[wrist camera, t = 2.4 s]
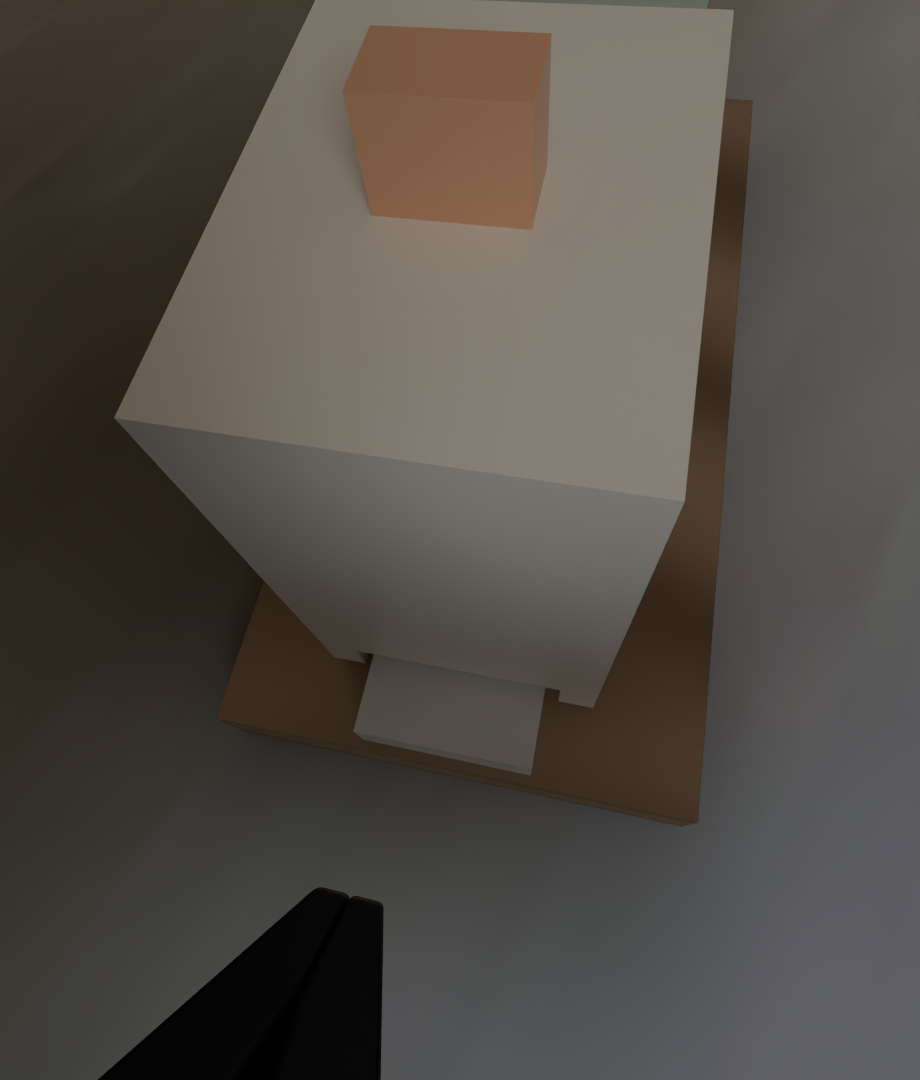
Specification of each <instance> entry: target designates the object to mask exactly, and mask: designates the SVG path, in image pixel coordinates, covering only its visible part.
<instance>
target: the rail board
mask: <svg viewBox="0 0 920 1080" xmlns="http://www.w3.org/2000/svg"><path fill="white" fill-rule="evenodd" d="M752 105H753V100H736V99H725V104H724V114H723V124H722V134H721V144H720V154H719V164H718V174H717V184H716V194H715V204H714V214H713V224H712V234H711V244H710V254H709V264H708V274H707V284H706V294H705V304H704V314H703V324H702V334H701V344H700V354H699V364H698V374H697V384H696V394H695V404H694V414H693V424H692V434H691V444H690V454H689V464H688V474H687V484H686V494H685V502H684V505H683V507H682V509H681V511H680V514H679V516H678V518H677V520H676V523H675V525H674V527H673V529H672V532H671V534H670V536H669V538H668V541H667V543H666V545H665V547H664V550H663V552H662V554H661V556H660V559H659V561H658V563H657V565H656V567H655V570H654V572H653V574H652V576H651V579H650V581H649V583H648V585H647V588H646V590H645V592H644V594H643V597H642V599H641V601H640V603H639V606H638V608H637V610H636V612H635V615H634V617H633V619H632V621H631V624H630V626H629V628H628V630H627V633H626V635H625V637H624V639H623V642H622V644H621V646H620V648H619V651H618V653H617V655H616V657H615V660H614V662H613V664H612V666H611V669H610V671H609V673H608V675H607V678H606V680H605V682H604V684H603V687H602V689H601V691H600V693H599V696H598V698H597V700H596V702H595V705H594V707H593V708H590V707H585V706H580V705H575V704H570V703H565V702H560V701H558V700H559V694H560V690H556V689H551V688H546V687H541V686H536V685H531V684H525V683H520V682H515V681H510V680H505V679H500V678H494V677H489V676H484V675H479V674H474V673H469V672H463V671H458V670H453V669H448V668H443V667H438V666H432V665H427V664H422V663H417V662H412V661H407V660H401V659H396V658H391V657H386V656H381V655H376V654H371V653H369V654H368V657H367V661H366V663H361V662H356V661H351V660H346V659H341V658H336V657H334V656H333V655H332V654H331V653H330V652H329V651H328V650H327V648H326V647H325V646H324V645H323V644H322V643H321V642H320V641H319V640H318V639H317V638H316V636H315V635H314V634H313V633H312V632H311V631H310V630H309V629H308V628H307V627H306V626H305V625H304V623H303V622H302V621H301V620H300V619H299V618H298V617H297V616H296V615H295V614H294V613H293V612H292V610H291V609H290V608H289V607H288V606H287V605H286V604H285V603H284V602H283V601H282V600H281V599H280V597H279V596H278V595H277V594H276V593H275V592H274V591H273V590H272V589H271V588H270V587H269V585H268V584H267V583H266V582H265V581H263V584H262V587H261V590H260V593H259V595H258V598H257V601H256V604H255V607H254V610H253V613H252V616H251V619H250V621H249V624H248V627H247V630H246V633H245V636H244V639H243V642H242V645H241V647H240V650H239V653H238V656H237V659H236V662H235V665H234V668H233V671H232V673H231V676H230V679H229V682H228V685H227V688H226V691H225V694H224V697H223V699H222V702H221V705H220V708H219V711H218V714H217V717H216V718H217V719H219V720H221V721H224V722H226V723H228V724H230V725H232V726H234V727H236V728H238V729H241V730H244V731H249V732H253V733H258V734H262V735H267V736H272V737H276V738H281V739H285V740H290V741H294V742H299V743H304V744H308V745H313V746H317V747H322V748H327V749H331V750H336V751H340V752H345V753H349V754H354V755H359V756H363V757H368V758H372V759H377V760H381V761H386V762H391V763H395V764H400V765H404V766H409V767H413V768H418V769H423V770H427V771H432V772H436V773H441V774H446V775H450V776H455V777H459V778H464V779H468V780H473V781H478V782H482V783H487V784H491V785H496V786H500V787H505V788H510V789H514V790H519V791H523V792H528V793H532V794H537V795H542V796H546V797H551V798H555V799H560V800H565V801H569V802H574V803H578V804H583V805H587V806H592V807H597V808H601V809H606V810H610V811H615V812H619V813H624V814H629V815H633V816H638V817H642V818H647V819H651V820H656V821H661V822H665V823H670V824H674V825H679V826H685V825H689V824H693V823H698V813H699V799H700V786H701V773H702V760H703V747H704V734H705V721H706V708H707V695H708V682H709V668H710V655H711V642H712V629H713V616H714V603H715V590H716V577H717V564H718V551H719V537H720V524H721V511H722V498H723V485H724V472H725V459H726V446H727V433H728V419H729V406H730V393H731V380H732V367H733V354H734V341H735V328H736V315H737V302H738V288H739V275H740V262H741V249H742V236H743V223H744V210H745V197H746V184H747V171H748V157H749V144H750V131H751V118H752Z"/></svg>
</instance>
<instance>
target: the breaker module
mask: <svg viewBox="0 0 920 1080" xmlns="http://www.w3.org/2000/svg"><path fill="white" fill-rule="evenodd" d="M733 13H734V10H719V9H693V8H667V7H641V6H614V5H588V4H562V3H536V2H509V1H483V0H315V2H314V4H313V6H312V8H311V10H310V13H309V15H308V17H307V19H306V21H305V23H304V25H303V27H302V29H301V31H300V33H299V35H298V37H297V39H296V42H295V44H294V46H293V48H292V50H291V52H290V54H289V56H288V58H287V60H286V62H285V64H284V66H283V69H282V71H281V73H280V75H279V77H278V79H277V81H276V83H275V85H274V87H273V89H272V91H271V93H270V95H269V98H268V100H267V102H266V104H265V106H264V108H263V110H262V112H261V114H260V116H259V118H258V120H257V122H256V125H255V127H254V129H253V131H252V133H251V135H250V137H249V139H248V141H247V143H246V145H245V147H244V149H243V151H242V154H241V156H240V158H239V160H238V162H237V164H236V166H235V168H234V170H233V172H232V174H231V176H230V178H229V181H228V183H227V185H226V187H225V189H224V191H223V193H222V195H221V197H220V199H219V201H218V203H217V205H216V208H215V210H214V212H213V214H212V216H211V218H210V220H209V222H208V224H207V226H206V228H205V230H204V232H203V234H202V237H201V239H200V241H199V243H198V245H197V247H196V249H195V251H194V253H193V255H192V257H191V259H190V261H189V264H188V266H187V268H186V270H185V272H184V274H183V276H182V278H181V280H180V282H179V284H178V286H177V288H176V290H175V293H174V295H173V297H172V299H171V301H170V303H169V305H168V307H167V309H166V311H165V313H164V315H163V317H162V320H161V322H160V324H159V326H158V328H157V330H156V332H155V334H154V336H153V338H152V340H151V342H150V344H149V346H148V349H147V351H146V353H145V355H144V357H143V359H142V361H141V363H140V365H139V367H138V369H137V371H136V373H135V376H134V378H133V380H132V382H131V384H130V386H129V388H128V390H127V392H126V394H125V396H124V398H123V400H122V402H121V405H120V407H119V409H118V411H117V413H116V415H115V417H114V418H115V419H116V420H117V422H118V423H119V424H120V425H121V426H122V427H123V428H124V429H125V430H126V431H127V432H128V434H129V435H130V436H131V437H132V438H133V439H134V440H135V441H136V442H137V443H138V444H139V445H140V447H141V448H142V449H143V450H144V451H145V452H146V453H147V454H148V455H149V456H150V457H151V458H152V460H153V461H154V462H155V463H156V464H157V465H158V466H159V467H160V468H161V469H162V470H163V472H164V473H165V474H166V475H167V476H168V477H169V478H170V479H171V480H172V481H173V482H174V483H175V485H176V486H177V487H178V488H179V489H180V490H181V491H182V492H183V493H184V494H185V495H186V496H187V498H188V499H189V500H190V501H191V502H192V503H193V504H194V505H195V506H196V507H197V508H198V509H199V511H200V512H201V513H202V514H203V515H204V516H205V517H206V518H207V519H208V520H209V521H210V523H211V524H212V525H213V526H214V527H215V528H216V529H217V530H218V531H219V532H220V533H221V534H222V536H223V537H224V538H225V539H226V540H227V541H228V542H229V543H230V544H231V545H232V546H233V547H234V549H235V550H236V551H237V552H238V553H239V554H240V555H241V556H242V557H243V558H244V559H245V561H246V562H247V563H248V564H249V565H250V566H251V567H252V568H253V569H254V570H255V571H256V572H257V574H258V575H259V576H260V577H261V578H262V579H263V580H264V581H265V582H266V583H267V584H268V585H269V587H270V588H271V589H272V590H273V591H274V592H275V593H276V594H277V595H278V596H279V597H280V599H281V600H282V601H283V602H284V603H285V604H286V605H287V606H288V607H289V608H290V609H291V610H292V612H293V613H294V614H295V615H296V616H297V617H298V618H299V619H300V620H301V621H302V622H303V623H304V625H305V626H306V627H307V628H308V629H309V630H310V631H311V632H312V633H313V634H314V635H315V636H316V638H317V639H318V640H319V641H320V642H321V643H322V644H323V645H324V646H325V647H326V648H327V650H328V651H329V652H330V653H331V654H332V655H333V656H334V657H336V658H341V659H346V660H351V661H356V662H361V663H366V661H367V657H368V654H369V653H371V654H376V655H381V656H386V657H391V658H396V659H401V660H407V661H412V662H417V663H422V664H427V665H432V666H438V667H443V668H448V669H453V670H458V671H463V672H469V673H474V674H479V675H484V676H489V677H494V678H500V679H505V680H510V681H515V682H520V683H525V684H531V685H536V686H541V687H546V688H551V689H556V690H560V694H559V700H558V701H560V702H565V703H570V704H575V705H580V706H585V707H590V708H593V707H594V705H595V702H596V700H597V698H598V696H599V693H600V691H601V689H602V687H603V684H604V682H605V680H606V678H607V675H608V673H609V671H610V669H611V666H612V664H613V662H614V660H615V657H616V655H617V653H618V651H619V648H620V646H621V644H622V642H623V639H624V637H625V635H626V633H627V630H628V628H629V626H630V624H631V621H632V619H633V617H634V615H635V612H636V610H637V608H638V606H639V603H640V601H641V599H642V597H643V594H644V592H645V590H646V588H647V585H648V583H649V581H650V579H651V576H652V574H653V572H654V570H655V567H656V565H657V563H658V561H659V559H660V556H661V554H662V552H663V550H664V547H665V545H666V543H667V541H668V538H669V536H670V534H671V532H672V529H673V527H674V525H675V523H676V520H677V518H678V516H679V514H680V511H681V509H682V507H683V505H684V502H685V494H686V484H687V474H688V464H689V454H690V444H691V434H692V424H693V414H694V404H695V394H696V384H697V374H698V364H699V354H700V344H701V334H702V324H703V314H704V304H705V294H706V284H707V274H708V264H709V254H710V244H711V234H712V224H713V214H714V204H715V194H716V184H717V174H718V164H719V154H720V144H721V134H722V124H723V114H724V104H725V94H726V83H727V73H728V63H729V53H730V43H731V33H732V23H733Z"/></svg>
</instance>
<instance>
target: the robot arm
mask: <svg viewBox="0 0 920 1080" xmlns="http://www.w3.org/2000/svg"><path fill="white" fill-rule="evenodd" d="M383 911H384V910H383V905H382V903H381V902H379V901H375V900H371V899H367V898H363V897H359V896H353V897H351V898H350V899H349V896H348V895H347V894H345V893H343V892H339V891H335V890H331V889H327V888H321V887H320V888H316V889H314V890H313V891H312V892H310V893H309V894H308V895H307V896H306V897H305V898H303V899H302V900H301V901H300V902H299V903H298V904H297V905H296V906H294V907H293V908H292V909H291V910H290V911H289V912H288V913H286V914H285V915H284V916H283V917H282V918H281V919H280V920H278V921H277V922H276V923H275V924H274V925H273V926H272V927H271V928H269V929H268V930H267V931H266V932H265V933H264V934H263V935H261V936H260V937H259V938H258V939H257V940H256V941H255V942H254V943H252V944H251V945H250V946H249V947H248V948H247V949H246V950H244V951H243V952H242V953H241V954H240V955H239V956H238V957H236V958H235V959H234V960H233V961H232V962H231V963H230V964H229V965H227V966H226V967H225V968H224V969H223V970H222V971H221V972H219V973H218V974H217V975H216V976H215V977H214V978H213V979H212V980H210V981H209V982H208V983H207V984H206V985H205V986H204V987H202V988H201V989H200V990H199V991H198V992H197V993H196V994H194V995H193V996H192V997H191V998H190V999H189V1000H188V1001H187V1002H185V1003H184V1004H183V1005H182V1006H181V1007H180V1008H179V1009H177V1010H176V1011H175V1012H174V1013H173V1014H172V1015H171V1016H169V1017H168V1018H167V1019H166V1020H165V1021H164V1022H163V1023H162V1024H160V1025H159V1026H158V1027H157V1028H156V1029H155V1030H154V1031H152V1032H151V1033H150V1034H149V1035H148V1036H147V1037H146V1038H145V1039H143V1040H142V1041H141V1042H140V1043H139V1044H138V1045H137V1046H135V1047H134V1048H133V1049H132V1050H131V1051H130V1052H129V1053H127V1054H126V1055H125V1056H124V1057H123V1058H122V1059H121V1060H120V1061H118V1062H117V1063H116V1064H115V1065H114V1066H113V1067H112V1068H110V1069H109V1070H108V1071H107V1072H106V1073H105V1074H104V1075H102V1076H101V1077H100V1078H99V1079H98V1080H381V1029H382V971H383Z"/></svg>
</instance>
